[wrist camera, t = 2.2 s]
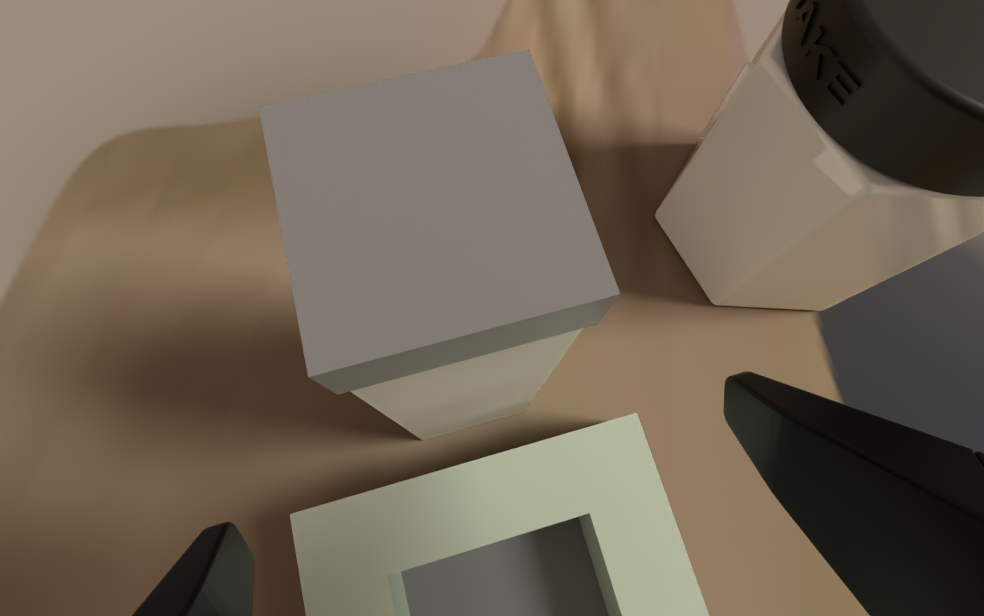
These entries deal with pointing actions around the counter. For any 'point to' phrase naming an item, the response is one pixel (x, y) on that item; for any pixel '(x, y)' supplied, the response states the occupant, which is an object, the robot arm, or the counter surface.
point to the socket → (507, 537)
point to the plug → (435, 240)
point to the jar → (837, 155)
